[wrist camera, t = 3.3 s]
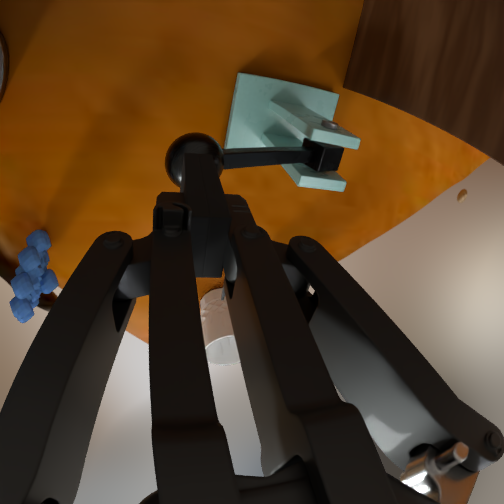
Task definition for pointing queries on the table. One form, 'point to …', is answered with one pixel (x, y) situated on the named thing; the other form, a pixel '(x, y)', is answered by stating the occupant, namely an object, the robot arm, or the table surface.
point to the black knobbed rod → (250, 155)
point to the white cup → (218, 330)
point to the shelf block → (436, 65)
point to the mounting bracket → (287, 123)
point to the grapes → (32, 276)
